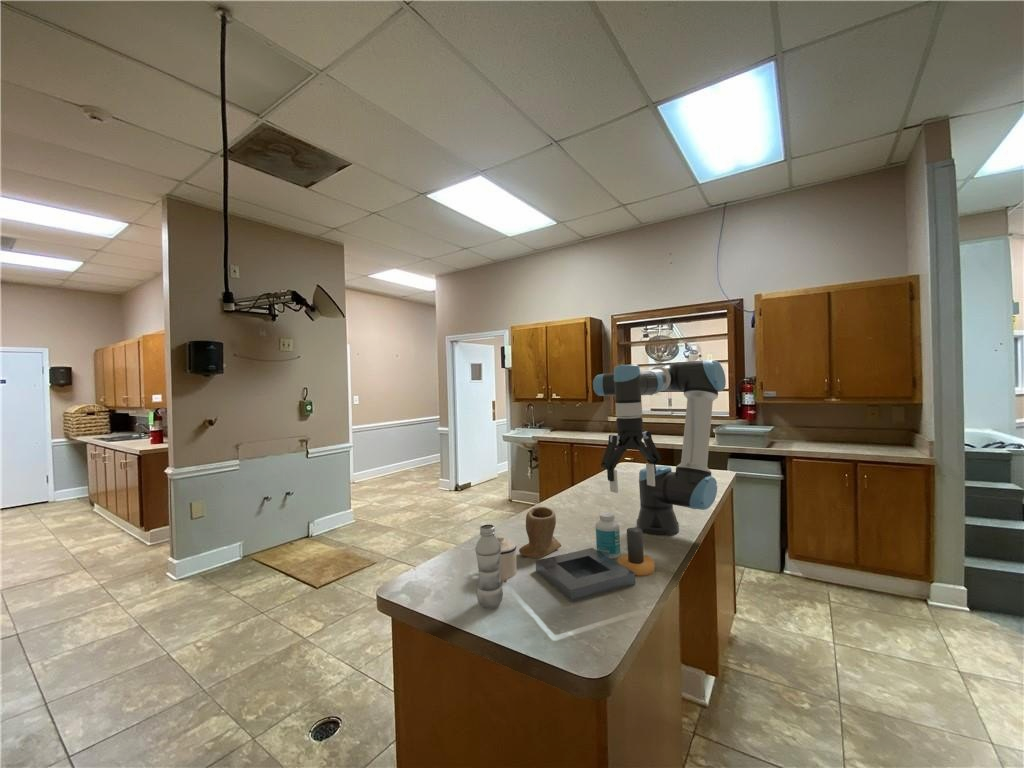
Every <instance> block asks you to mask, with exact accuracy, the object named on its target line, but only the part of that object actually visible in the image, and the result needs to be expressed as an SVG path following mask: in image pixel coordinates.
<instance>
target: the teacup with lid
mask: <svg viewBox="0 0 1024 768" xmlns="http://www.w3.org/2000/svg"><path fill="white" fill-rule="evenodd" d="M496 538H497V539H498V541H499V542H500V545H501V554H500V580H501V583H507V581H508V579H511V578H514V577H515V576H516V575H517V571H518V569H517V550H516V549H517V545H516V543H515V542H514V541H513V540H510V539H507V538H505V537H504V536H503V535H498V536H496Z"/></svg>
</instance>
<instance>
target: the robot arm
mask: <svg viewBox="0 0 1024 768" xmlns="http://www.w3.org/2000/svg"><path fill="white" fill-rule="evenodd" d="M726 383H727V382H726V374H725V370H724V368H723V366H722V365H721V363H720V362H719V361H718V360H715V359H703V360H702V359H701V360H693V361H691V360H690V361H679V362H673V363H669V364H665V365H661V366H654V367H652V368H651V369H643V370H641V368H640V366H639V364H623V365H616V366H615V367H613V373H601V374H597V375H596V376H595V377H594V379H593V381H592V385H593V386H592V388H593V391H594V393H595V394H596V395H597V396H599V397H614V398H615V399H614V401H615V403H614V404H615V416H616V417H617V418H616V421H615V423H616V430H617V435H614V434H609V435H608V442H607V446H606V449H605V451H604V454H603V457H602V461H601V463H600V467H601V468H602V469H606V473H607V475H606V477H607V480H608V482H609V492H611V493H614V494H618V493H619V487H618V486H619V484H618V483H619V482H618V470H617V469H615V468H616V467H617V465H618V464H619V462H620V460H621V458H622V457H623V455H624V453H625V452H626V451H627V450H632V449H636V450H638V452H639V453H640V454H641V455H642V456H643V457H644V458H645V460H646V463H645V467H644V468H642V469H640V470H639V473H638V484H639V486H638V488H639V502H640V503H639V505H640V509H639V512H638V515H637V519H636V522H635V523H636V524H635V525H636V528H640V529H642V534H645V535H651V536H652V535H653V536H658V537H659V536H661V537H662V536H663V537H665V536H672V535H675V534H676V535H677V533H679V532H680V524H679V522H678V519H677V516H676V513H675V511H674V506H679V507H683V508H688V509H692V510H701V511H706V510H708V509H710V508H711V507H712V505H713V504H714V502H715V500H716V498H717V492H718V485H717V484H718V482H717V480H716V478H715V477H713V476H712V471H711V470H710V468H709V467H708V460H709V451H710V450H709V449H710V438H711V426H712V413H713V403H714V401H715V400H717V399H718V396H719V392H723V391H724V390H725V388H726V385H727V384H726ZM660 392H675V393H683V396H684V397H685V398H686V399H687V400H686V407H685V408H686V410H685V417H684V418H685V421H684V430H683V439H682V451H681V459H680V463H679V464H677V465H676V466H675V471H673V470H672V467H671V466H669V465H668V466H667V465H661V466H659V465H658V464H659V462H661V460H662V457H661V456H660V455H661V454H660V453H659V450H658V449H657V447H656V445H655V442H654V440H653V438H652V437H653V436H652V431H650V430H649V431H647V430H644V422H643V421H644V420H643V417H642V416H643V405H642V402H643V401H642V396H654V395H657V394H659V393H660ZM657 465H658V466H657Z"/></svg>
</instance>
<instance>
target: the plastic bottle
mask: <svg viewBox="0 0 1024 768" xmlns="http://www.w3.org/2000/svg"><path fill="white" fill-rule="evenodd" d="M495 529H496V528H495V525H493V524H487V523H486V524H483V525H480V526H479V535H480V538H479V539H478V540H477V542H476V545H475V555H476V561H477V568H478V578H477V579H478V581H477V582H478V583H477V590H476V599H477V604H479V606H480V607H481V608H484V609H493V608H496V607H498V606H499V605H500V604H501V603H502V601H503V597H504V592H503V591H504V590H503V587H502V582H501V580H500V554H501V545H500V542H499V541H498V539H497V536H495V534H496V530H495Z"/></svg>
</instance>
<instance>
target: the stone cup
mask: <svg viewBox="0 0 1024 768" xmlns="http://www.w3.org/2000/svg"><path fill="white" fill-rule="evenodd" d="M526 513H527V514H526V516H525V531H526V534H527V538H528V543H527V544H524V545H523V546H521V547H519V550H518V552H519V554H520V555H522V556H524V557H525V558H529V559H530V558H531V559H540V558H544V557H546V556H548V555H550V554H552V553H553V552H555V551H556V550H558V549H559V548H561V547H562V544H561V542H560V541H558V539H556V538H555V536H554V533H555V529H556V525H557V516H556V513H555V510H553V509H552V508H550V507H547V506H536V507H533V508H531V509H530V510H529V511H527V512H526Z"/></svg>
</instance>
